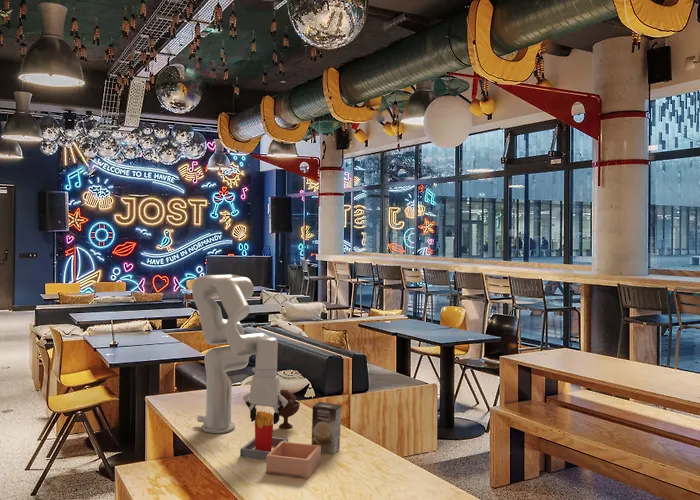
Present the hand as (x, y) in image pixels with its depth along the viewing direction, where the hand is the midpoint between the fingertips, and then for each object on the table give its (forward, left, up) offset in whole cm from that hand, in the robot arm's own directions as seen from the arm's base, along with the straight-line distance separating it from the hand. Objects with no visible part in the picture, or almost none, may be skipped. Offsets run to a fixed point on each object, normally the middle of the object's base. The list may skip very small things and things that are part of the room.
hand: (264, 421), depth 221 cm
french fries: (0, 0, -10) cm, 10 cm away
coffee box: (+20, +8, -11) cm, 24 cm away
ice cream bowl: (-2, +27, -11) cm, 29 cm away
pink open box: (+15, -12, -10) cm, 22 cm away
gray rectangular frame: (0, 0, -10) cm, 10 cm away
